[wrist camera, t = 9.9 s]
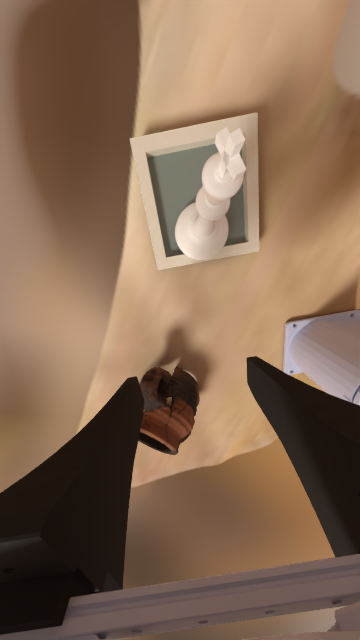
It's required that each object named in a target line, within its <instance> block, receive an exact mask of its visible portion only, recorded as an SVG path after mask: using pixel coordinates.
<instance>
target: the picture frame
mask: <svg viewBox="0 0 360 640" xmlns="http://www.w3.org/2000/svg"><path fill="white" fill-rule="evenodd" d="M225 127H227V128H228V131H229V133H230V134H231V133H232V132H234V131H235V130H237V129H238V128H240V129H241V131H242V134H243V136H244V138H245V141H244V144H243V146H242V148H241V151H240V153H239V154H240V156H241V159H242V161H243V163H244V165H245V167H246V171H245V172H244V178H243V182H242V185H241V187H240V189H239V190H238V192H237V193H236V194H235V195H234V196H232V197H231V198H230V207H229V209H228V211H227V213H226V214H225V216H226V218H227V221H228V228H229V230H228V237H227V240H226V243H225V245H224V247H223V248H222V250H221V251H220V252H219V253H218V254H217V255H215V256H214V257H212V258H209V259H206V260H196V259H192V258H190V257H188V256H187V255H185V254H184V253H183V252H182V251H181V250H180V248H179V246H178V244H177V242H176V238H175V227H176V223H177V220H178V217H179V215H180V214H181V212H182V211H183V210H184V209H185V208H186V207H187V206H189V205H190V204H192V203H195V202H196V196H197V193H198V192H199V190H200V189H201V188H202V186H203V184H202V171H203V167H204V165H205V163H206V161H207V160H208V159H209V158H210V157H211V156H212V155H213V154H215V153H217V152H219V151H218V149H217V147H216V145H215V139H216V135H217V133H218V132H219V131H221V130H222V129H224V128H225ZM130 143H131V147H132V152H133V157H134V161H135V166H136V171H137V175H138V180H139V185H140V189H141V194H142V198H143V203H144V208H145V212H146V217H147V222H148V226H149V231H150V236H151V240H152V245H153V250H154V254H155V259H156V264H157V268H158V270H162V269H167V268H172V267H178V266H183V265H188V264H194V263H199V262H204V261H210V260H215V259H220V258H226V257H231V256H236V255H242V254H247V253H252V252H257V251H259V188H258V112H256V113H251V114H246V115H241V116H236V117H231V118H227V119H222V120H217V121H212V122H207V123H202V124H197V125H193V126H188V127H183V128H178V129H173V130H168V131H163V132H159V133H154V134H149V135H144V136H139V137H134V138H130Z"/></svg>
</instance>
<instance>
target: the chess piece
mask: <svg viewBox="0 0 360 640" xmlns="http://www.w3.org/2000/svg"><path fill="white" fill-rule="evenodd" d="M244 141H245V138H244V136H243V134H242V131H241V129H240V128H238V129H237V130H235V131H234V132H232V133H231V134H230V133H229V131H228V128H227V127H225V128H224V129H222V130H221V131H219V132H218V133H217V135H216V139H215V145H216V147H217V149H218V151H219V152H217V153H215V154H213V155H212V156H211V157H210V158H209V159H208V160H207V161H206V163H205V165H204V167H203V171H202V184H203V186H202V188H201V189H200V190H199V192H198V193H197V196H196V202H195V203H192V204H190V205H189V206H187V207H186V208H185V209H184V210H183V211H182V212H181V214H180V215H179V217H178V220H177V223H176V227H175V238H176V242H177V244H178V246H179V248H180V250H181V251H182V252H183V253H184V254H185V255H187V256H188V257H190V258H192V259H196V260H206V259H209V258H212V257H214V256H215V255H217V254H218V253H219V252H220V251H221V250H222V248H223V247H224V245H225V243H226V240H227V237H228V230H229V228H228V221H227V218H226V216H225V214H226V213H227V211H228V209H229V207H230V198H231V197H232V196H234V195H235V194H236V193H237V192H238V190H239V189H240V187H241V185H242V182H243V178H244V172H245V171H246V167H245V165H244V163H243V161H242V159H241V156H240V154H239V153H240V151H241V148H242V146H243V144H244Z"/></svg>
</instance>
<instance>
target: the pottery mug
mask: <svg viewBox="0 0 360 640" xmlns="http://www.w3.org/2000/svg"><path fill="white" fill-rule="evenodd" d="M140 388H141V391H142V394H143V397H144V410H145V411H144V412H143V420H142V425H141V429H140V434H139V439H138V441H140V442H141V443H143V444H145V445H147V446H149V447H151V448H153V449H155V450H158V451H160V452H163V453H166V454H170V455H176V454H177V453H178V448H179V445H180V443H182V442H184V441H185V440H186V439H187V438H188V436H189V435H190V434H191V430H192V429H193V425H194V423H195V420H194V416H195V415H196V411H197V409H196V407H197V406H198V404H199V385H198V384H197V382H196V380H195V379H194V378H193V377H192V376H191V375H190V374H188V373H187V372H185V371H183V370H181V369H179V368H175V370H174V373H173V375H172V376H171V374H170V373H169V372H168V371H166V370H164V369H162V368H160V367H155V368H152V369H150V370H149V371H147V372H146V373H145V375H144V376H143V378H142V380H141V383H140ZM168 397H172V405H171V406H169V405H167V404H166V402H167V399H166V398H168Z"/></svg>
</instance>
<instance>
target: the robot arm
mask: <svg viewBox="0 0 360 640" xmlns="http://www.w3.org/2000/svg"><path fill="white" fill-rule="evenodd" d="M294 324H295V325H294ZM293 325H294V326H293ZM291 370H292V371H291ZM298 373H305V374H306V375H307V376H308V377H309V378H310V379H311V380H312V381H314V382H315V383H316V384H317V385H318V386H319V387H320V388H322V389H323V390H324V391H325V392H323V391H321V390H319V389H316V388H314V387H312V386H310V385H308V384H305V383H304V382H302V381H300V380H298V379H296V378H294V377H292V376H290V375H292V374H298ZM247 382H248V385H249V387H250V390H251V392H252V394H253V396H254V398H255V400H256V401H257V403H258V405H259V406H260V408H261V409H262V411H263V413H264V414H265V416H266V417H267V419H268V421H269V422H270V424H271V425H272V427H273V429H274V430H275V432H276V434H277V435H278V437H279V439H280V440H281V442H282V444H283V446H284V448H285V450H286V452H287V454H288V456H289V458H290V460H291V461H292V464H293V466H294V468H295V470H296V472H297V474H298V476H299V478H300V480H301V482H302V484H303V486H304V489H305V491H306V493H307V495H308V497H309V499H310V501H311V504H312V506H313V508H314V510H315V512H316V514H317V517H318V518H319V521H320V523H321V525H322V528H323V530H324V532H325V534H326V537H327V539H328V541H329V543H330V545H331V548H332V550H333V552H334V555H335V558H328V559H322V560H315V561H309V562H302V563H295V564H289V565H282V566H275V567H269V568H262V569H256V570H249V571H242V572H236V573H229V574H222V575H216V576H209V577H202V578H196V579H189V580H183V581H177V582H169V583H163V584H156V585H149V586H143V587H137V588H129V589H123V573H124V557H125V542H126V531H127V520H128V509H129V499H130V489H131V481H132V472H133V465H134V459H135V453H136V449H137V444H138V439H139V434H140V429H141V425H142V420H143V412H144V397H143V394H142V391H141V388H140V385H139V382H138V379H137V377H131V378H127V379H126V381H125V382H124V383H123V384H122V385H121V387H120V388H119V389H118V390H117V392H116V393H115V394H114V395H113V396H112V398H111V399H110V400H109V401H108V402H107V404H106V405H105V406H104V407H103V408H102V409H101V410H100V411H99V412H98V413H97V414H96V416H95V417H94V418H93V419H92V420H91V421H90V422H89V423H88V424H87V425H86V426H85V427H84V428H83V429H82V430H81V431H80V432H78V433H77V434H76V435H75V436H74V437H73V438H72V439H71V440H70V441H68V442H67V443H66V444H65V445H64V446H63V447H61V448H60V449H59V450H58V451H57V452H56V453H54V454H53V455H52V456H51V457H49V458H48V459H47V460H46V461H44V462H43V463H42V464H40V465H39V466H38V467H36V468H35V469H34V470H32V471H31V472H30V473H28V474H27V475H26V476H25V477H23V478H22V479H20V480H19V481H17V482H16V483H14V484H13V485H11V486H10V487H9V488H7V489H6V490H4V491H3V492H1V493H0V640H118V639H121V638H127V637H135V636H142V635H149V634H155V633H161V632H169V631H176V630H183V629H190V628H196V627H203V626H209V625H217V624H223V623H230V622H237V621H244V620H251V619H258V618H265V617H271V616H278V615H285V614H292V613H299V612H306V611H313V610H320V609H326V608H332V607H340V606H346V607H343V608H340V609H338V610H336V611H335V618H336V623H335V625H334V626H332V627H331V628H330V629H329V630H328V631H327V632H312V633H297V634H284V635H274V636H266V637H256V638H249V639H242V640H360V309H358V310H352V311H346V312H341V313H335V314H330V315H324V316H318V317H313V318H307V319H302V320H296V321H290V322H287V323H286V325H285V341H284V363H283V371H281V370H279V369H277V368H276V367H274V366H272V365H270V364H269V363H267V362H265V361H264V360H262V359H260V358H258V357H257V356H254V357H249V358H247ZM347 605H349V606H347Z"/></svg>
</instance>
